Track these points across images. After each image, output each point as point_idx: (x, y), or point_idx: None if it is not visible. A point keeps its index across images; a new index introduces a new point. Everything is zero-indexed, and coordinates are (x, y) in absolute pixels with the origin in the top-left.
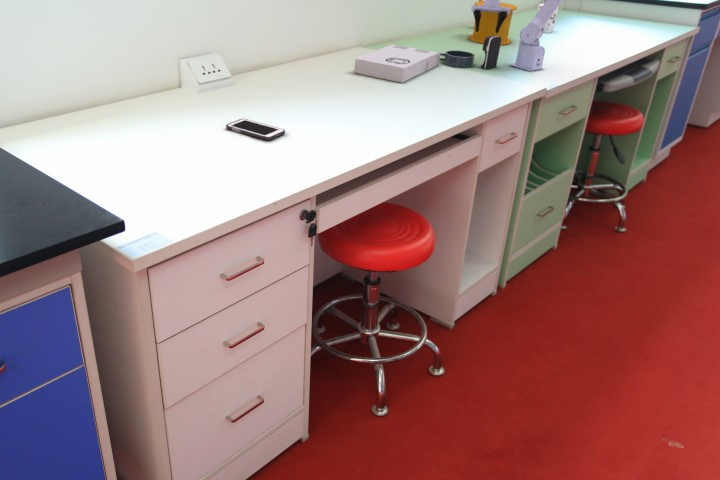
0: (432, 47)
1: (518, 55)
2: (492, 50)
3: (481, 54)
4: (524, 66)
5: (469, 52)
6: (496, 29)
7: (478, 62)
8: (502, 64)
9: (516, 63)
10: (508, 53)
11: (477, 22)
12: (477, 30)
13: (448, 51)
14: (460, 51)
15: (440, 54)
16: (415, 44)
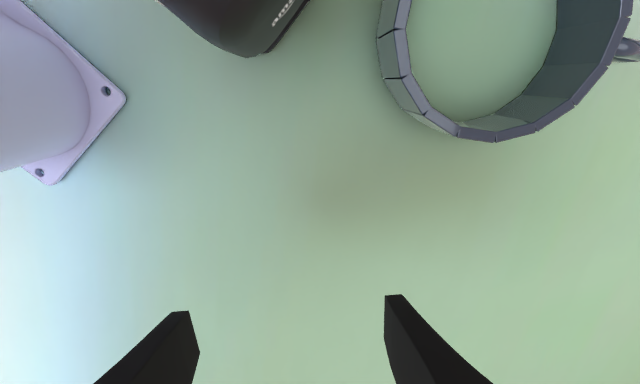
0: (510, 357)
1: (17, 70)
2: None
3: (289, 309)
4: (7, 18)
5: (419, 103)
6: (181, 355)
7: (327, 127)
8: (178, 123)
9: (72, 77)
10: None
11: (462, 367)
12: (399, 301)
13: (579, 86)
14: (477, 128)
15: (636, 40)
16: (574, 381)
